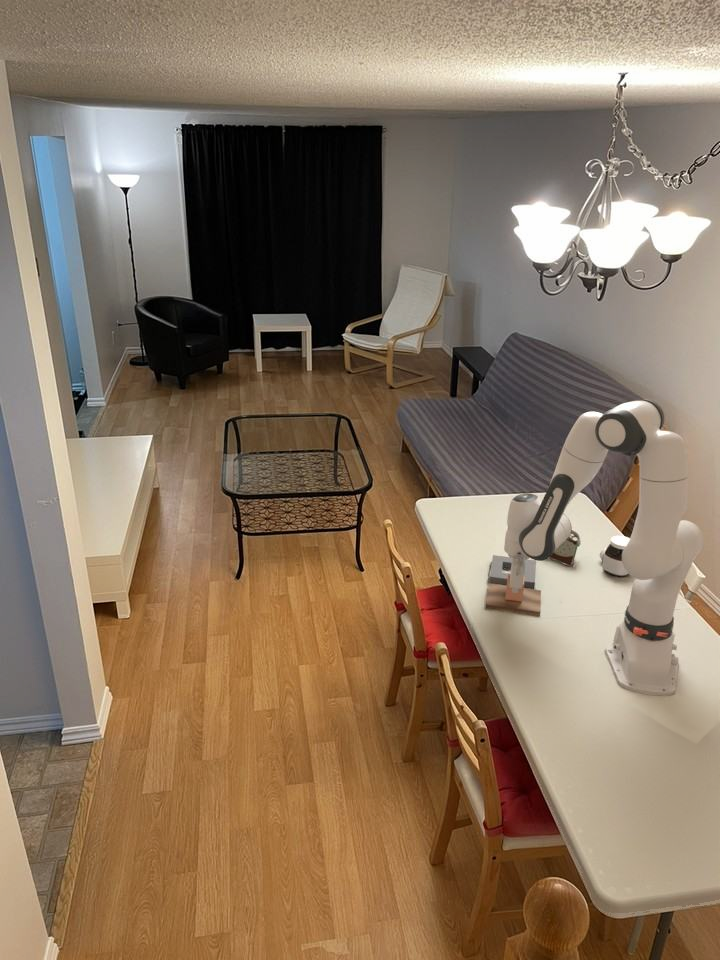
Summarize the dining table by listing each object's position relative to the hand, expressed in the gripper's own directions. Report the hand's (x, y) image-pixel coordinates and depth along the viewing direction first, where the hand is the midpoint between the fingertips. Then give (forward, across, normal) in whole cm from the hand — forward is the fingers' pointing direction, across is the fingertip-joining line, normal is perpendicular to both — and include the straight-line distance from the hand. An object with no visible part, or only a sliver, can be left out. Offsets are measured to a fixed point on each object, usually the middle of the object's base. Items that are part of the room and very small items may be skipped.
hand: (515, 585), depth 221 cm
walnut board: (+6, 0, 0) cm, 6 cm away
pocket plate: (+6, +16, +1) cm, 16 cm away
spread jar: (+6, +28, -31) cm, 42 cm away
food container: (+6, +31, -15) cm, 35 cm away
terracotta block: (+4, 0, 0) cm, 4 cm away
